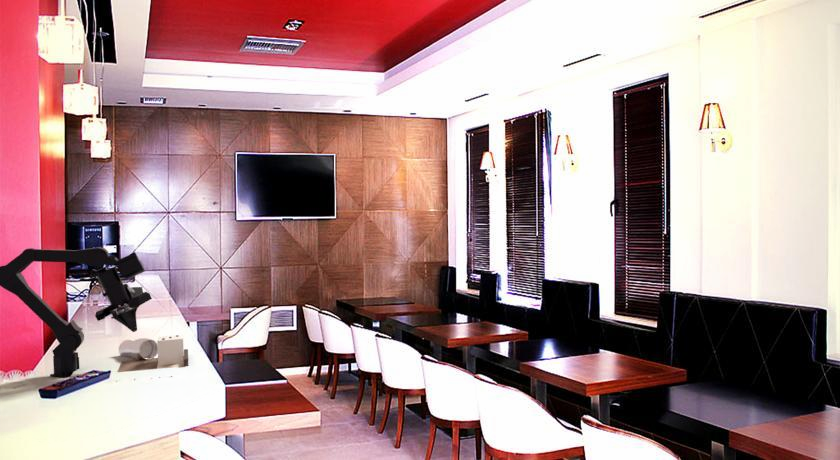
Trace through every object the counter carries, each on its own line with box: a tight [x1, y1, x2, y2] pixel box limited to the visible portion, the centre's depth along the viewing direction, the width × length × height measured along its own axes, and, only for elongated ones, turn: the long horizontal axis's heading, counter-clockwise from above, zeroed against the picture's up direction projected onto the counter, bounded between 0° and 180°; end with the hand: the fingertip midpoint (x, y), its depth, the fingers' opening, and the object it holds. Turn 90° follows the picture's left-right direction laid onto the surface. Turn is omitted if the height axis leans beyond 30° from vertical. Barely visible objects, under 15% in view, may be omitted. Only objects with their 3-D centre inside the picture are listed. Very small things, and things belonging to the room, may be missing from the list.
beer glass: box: [118, 337, 158, 360], centre depth 232 cm, size 7×7×15 cm
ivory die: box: [156, 335, 185, 365], centre depth 223 cm, size 8×8×8 cm
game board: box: [117, 348, 189, 373], centre depth 221 cm, size 20×18×3 cm
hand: (135, 331), depth 219 cm, fingers closed
